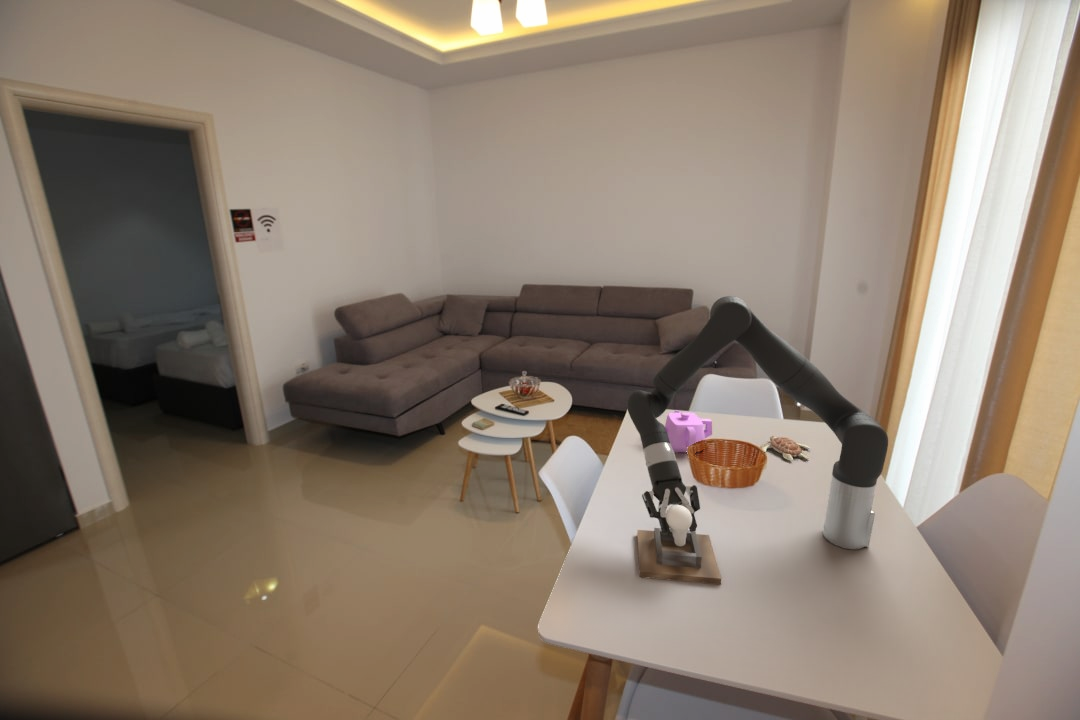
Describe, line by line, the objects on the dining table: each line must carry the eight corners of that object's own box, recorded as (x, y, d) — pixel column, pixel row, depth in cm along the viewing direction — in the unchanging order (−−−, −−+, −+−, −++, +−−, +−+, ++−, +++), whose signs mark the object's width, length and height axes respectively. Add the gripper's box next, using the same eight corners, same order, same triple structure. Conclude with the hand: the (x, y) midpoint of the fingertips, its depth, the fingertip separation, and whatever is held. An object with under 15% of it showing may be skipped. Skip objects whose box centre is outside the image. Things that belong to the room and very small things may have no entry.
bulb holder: (708, 540, 124) (709, 524, 123) (721, 584, 109) (722, 567, 108) (637, 534, 127) (637, 519, 126) (639, 577, 112) (640, 560, 110)
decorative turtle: (793, 440, 180) (794, 427, 178) (824, 460, 164) (826, 447, 163) (747, 444, 178) (748, 431, 176) (774, 465, 162) (776, 451, 160)
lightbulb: (694, 554, 113) (692, 516, 110) (667, 554, 115) (665, 515, 111) (692, 536, 119) (690, 499, 115) (666, 536, 120) (664, 499, 117)
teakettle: (693, 459, 166) (695, 426, 163) (650, 445, 178) (652, 414, 174) (715, 443, 178) (718, 412, 174) (674, 431, 189) (676, 401, 186)
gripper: (639, 462, 118) (657, 534, 110) (693, 456, 120) (715, 525, 112) (630, 471, 124) (647, 539, 116) (682, 465, 127) (702, 531, 119)
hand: (680, 532), depth 114 cm, fingers closed on lightbulb, 6 cm apart
